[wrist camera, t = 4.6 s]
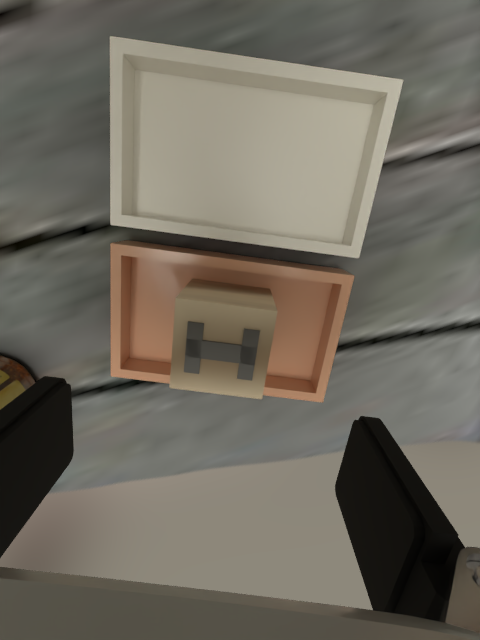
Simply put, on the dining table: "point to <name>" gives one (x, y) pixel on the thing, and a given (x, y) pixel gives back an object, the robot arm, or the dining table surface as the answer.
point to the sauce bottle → (12, 380)
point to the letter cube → (222, 338)
